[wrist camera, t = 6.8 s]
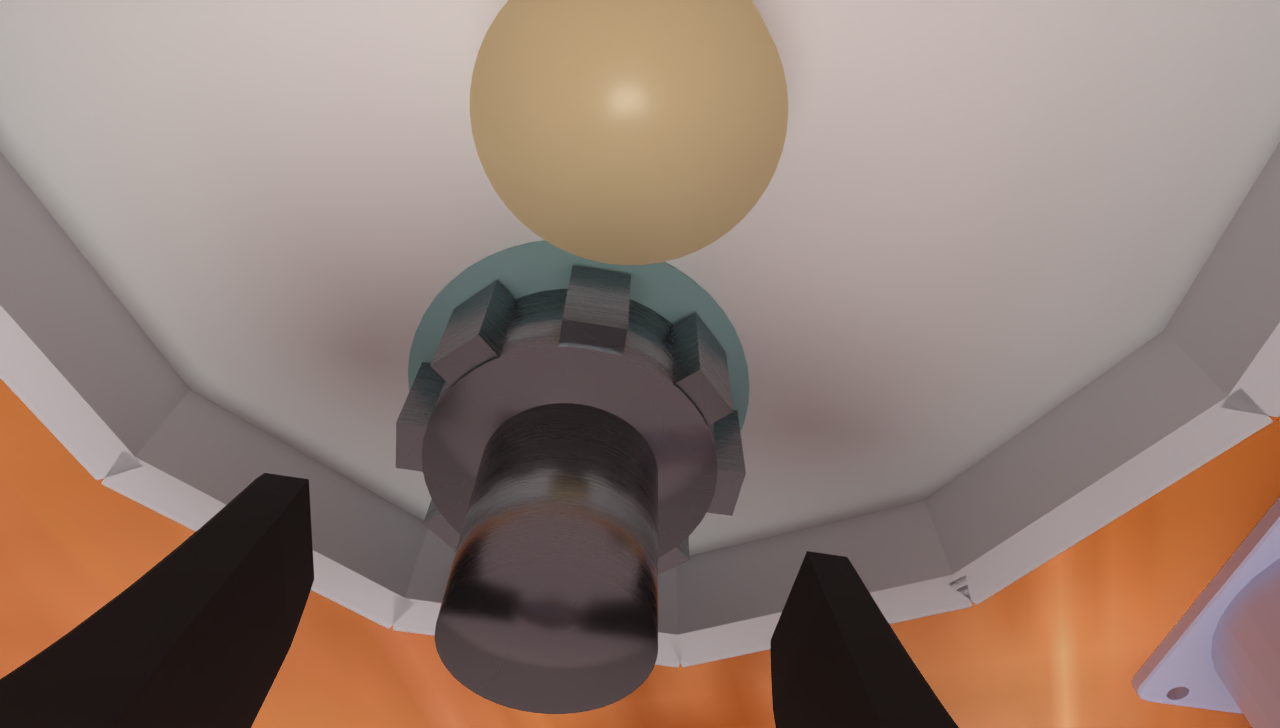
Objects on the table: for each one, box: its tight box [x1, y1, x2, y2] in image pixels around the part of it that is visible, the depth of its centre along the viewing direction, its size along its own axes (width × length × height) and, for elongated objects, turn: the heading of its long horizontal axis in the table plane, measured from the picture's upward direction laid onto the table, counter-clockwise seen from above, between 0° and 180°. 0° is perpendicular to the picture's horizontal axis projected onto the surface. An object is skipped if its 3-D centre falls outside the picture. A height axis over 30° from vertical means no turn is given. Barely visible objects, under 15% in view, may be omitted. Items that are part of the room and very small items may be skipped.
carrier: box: [0, 0, 1280, 667], centre depth 12 cm, size 23×23×3 cm
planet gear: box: [396, 265, 746, 714], centre depth 14 cm, size 6×6×6 cm
